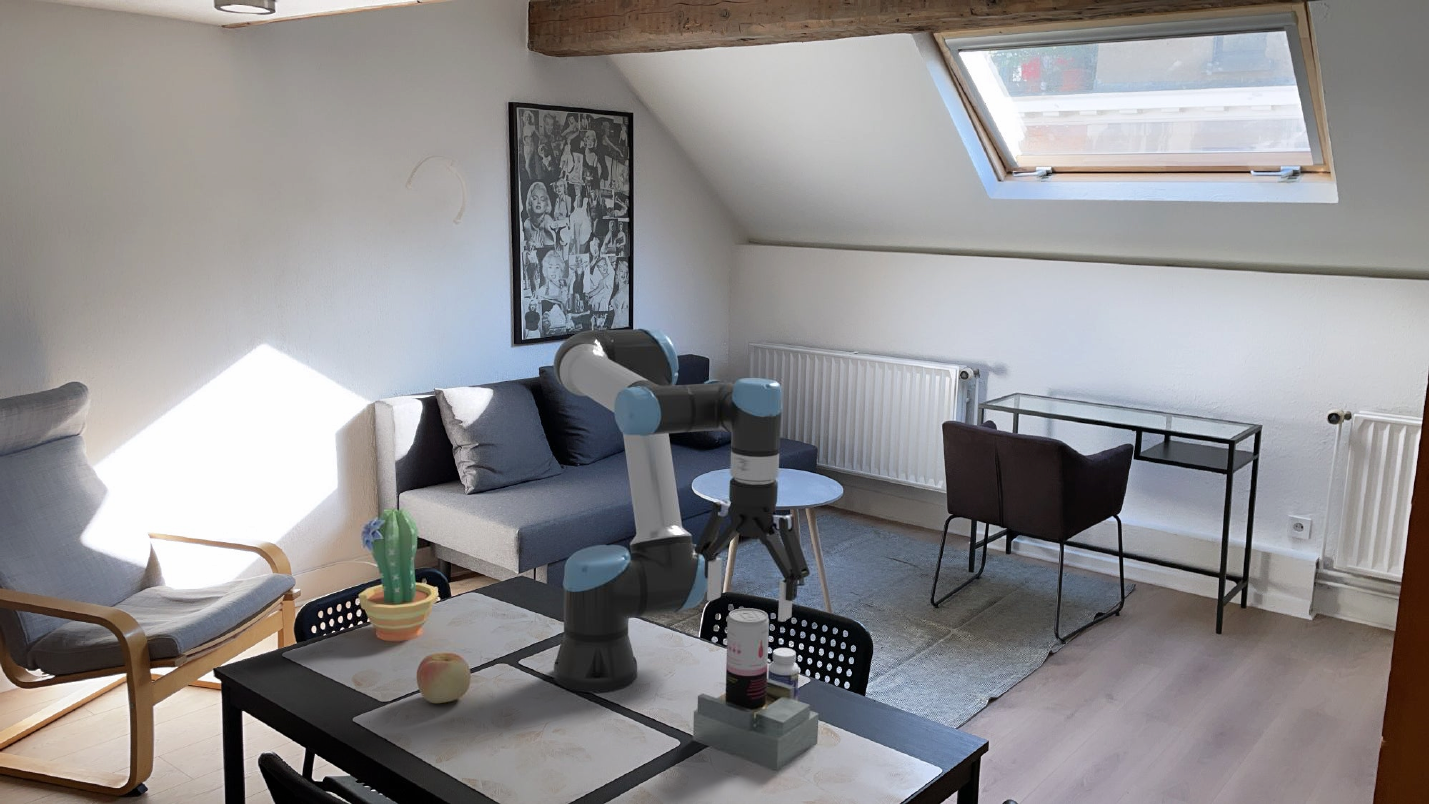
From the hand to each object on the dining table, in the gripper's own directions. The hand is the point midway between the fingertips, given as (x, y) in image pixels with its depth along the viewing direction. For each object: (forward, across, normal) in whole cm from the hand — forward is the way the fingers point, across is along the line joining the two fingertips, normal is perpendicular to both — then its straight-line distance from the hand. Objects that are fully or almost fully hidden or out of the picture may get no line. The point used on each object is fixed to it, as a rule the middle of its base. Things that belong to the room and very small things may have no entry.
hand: (748, 608), depth 175 cm
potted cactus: (+23, -78, -6) cm, 82 cm away
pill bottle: (+22, -2, +16) cm, 27 cm away
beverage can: (+16, 0, 0) cm, 16 cm away
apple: (+22, -47, -21) cm, 57 cm away
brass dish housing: (+22, +3, 0) cm, 22 cm away
